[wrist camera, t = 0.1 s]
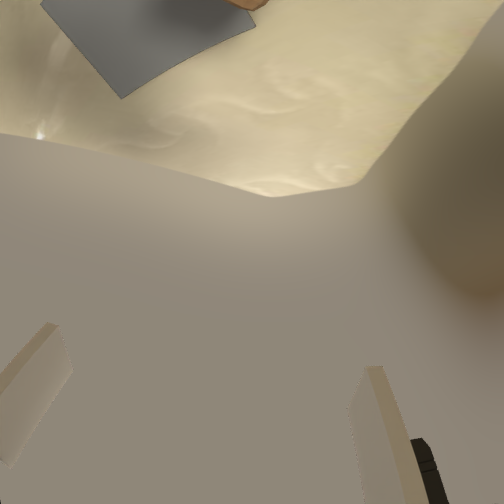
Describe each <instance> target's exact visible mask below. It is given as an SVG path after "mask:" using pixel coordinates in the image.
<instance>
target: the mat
mask: <svg viewBox="0 0 504 504" xmlns="http://www.w3.org/2000/svg"><path fill="white" fill-rule="evenodd" d="M40 5H41V6H42V8H43V9H44V10H45V11H46V12H47V13H48V15H49V16H50V17H51V18H52V19H53V20H54V21H55V23H56V24H57V25H58V26H59V27H60V28H61V30H62V31H63V32H64V33H65V34H66V35H67V37H68V38H69V39H70V40H71V41H72V42H73V44H74V45H75V46H76V47H77V48H78V49H79V51H80V52H81V53H82V54H83V55H84V56H85V58H86V59H87V60H88V61H89V62H90V63H91V65H92V66H93V67H94V68H95V69H96V70H97V72H98V73H99V74H100V75H101V76H102V77H103V79H104V80H105V81H106V82H107V83H108V84H109V86H110V87H111V88H112V89H113V90H114V91H115V93H116V94H117V95H118V96H119V97H120V98H121V99H122V98H124V97H125V96H127V95H128V94H130V93H131V92H133V91H134V90H136V89H137V88H139V87H140V86H142V85H143V84H145V83H146V82H148V81H150V80H151V79H153V78H154V77H156V76H158V75H159V74H161V73H163V72H164V71H166V70H168V69H170V68H171V67H173V66H175V65H177V64H178V63H180V62H182V61H184V60H186V59H188V58H189V57H191V56H193V55H195V54H197V53H199V52H201V51H203V50H205V49H207V48H209V47H211V46H213V45H215V44H217V43H219V42H222V41H224V40H226V39H228V38H230V37H233V36H235V35H237V34H240V33H242V32H244V31H247V30H249V29H252V28H254V27H256V25H255V23H254V21H253V20H252V18H251V16H250V15H249V13H248V11H247V10H243V9H239V8H237V7H235V6H233V5H231V4H229V3H227V2H225V1H223V0H43V1H42V2H41V3H40Z"/></svg>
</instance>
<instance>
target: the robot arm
mask: <svg viewBox="0 0 504 504" xmlns="http://www.w3.org/2000/svg"><path fill="white" fill-rule="evenodd" d="M73 370H74V369H73V366H72V364H71V361H70V358H69V355H68V352H67V350H66V346H65V344H64V340H63V337H62V334H61V331H60V327H59V325H55V324H52V323H48V322H47V323H46V324H45V325H44V326H43V327H42V328H41V329H40V330H39V331H38V332H37V333H36V334H35V335H34V337H32V339H31V340H30V341H29V342H28V343H27V344H26V345H25V346H24V347H23V348H22V350H21V351H20V352H19V353H18V354H17V355H16V356H15V357H14V359H13V360H12V361H11V362H10V363H9V364H8V365H7V367H6V368H5V369H4V370H3V371H2V372H1V374H0V462H1V463H3V464H4V465H6V466H8V467H9V468H10V469H12V468H13V466H14V464H15V462H16V460H17V459H18V457H19V455H20V453H21V452H22V450H23V448H24V447H25V445H26V443H27V441H28V440H29V438H30V437H31V435H32V433H33V432H34V430H35V428H36V427H37V425H38V424H39V422H40V420H41V419H42V417H43V415H44V414H45V412H46V411H47V409H48V408H49V406H50V405H51V403H52V402H53V400H54V398H55V397H56V395H57V394H58V392H59V391H60V389H61V388H62V386H63V385H64V383H65V382H66V381H67V379H68V378H69V376H70V375H71V373H72V372H73ZM347 411H348V417H349V421H350V426H351V431H352V435H353V440H354V446H355V451H356V456H357V461H358V466H359V472H360V478H361V483H362V489H363V495H364V502H365V504H449V502H448V500H447V496H446V493H445V490H444V487H443V484H442V481H441V477H440V474H439V471H438V470H437V466H436V463H435V461H434V457H433V454H432V451H431V449H430V447H429V446H428V444H426V442H425V441H424V440H423V439H422V438H418V439H413V440H410V439H409V436H408V433H407V430H406V428H405V424H404V422H403V419H402V416H401V413H400V411H399V408H398V405H397V402H396V400H395V397H394V394H393V392H392V389H391V387H390V384H389V382H388V379H387V376H386V374H385V371H384V369H383V366H366V367H365V369H364V371H363V374H362V376H361V378H360V381H359V383H358V385H357V388H356V390H355V392H354V394H353V397H352V399H351V401H350V403H349V405H348V408H347ZM0 504H1V502H0Z"/></svg>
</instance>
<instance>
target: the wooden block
mask: <svg viewBox="0 0 504 504" xmlns="http://www.w3.org/2000/svg"><path fill="white" fill-rule="evenodd" d="M223 1H225V2H227V3H229V4H231V5H233V6H235V7H237V8H239V9H243V10H250V11H255V10H257V9H258V8H260V7H262V6H264V5H266V3H267V2H268V1H269V0H223Z"/></svg>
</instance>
